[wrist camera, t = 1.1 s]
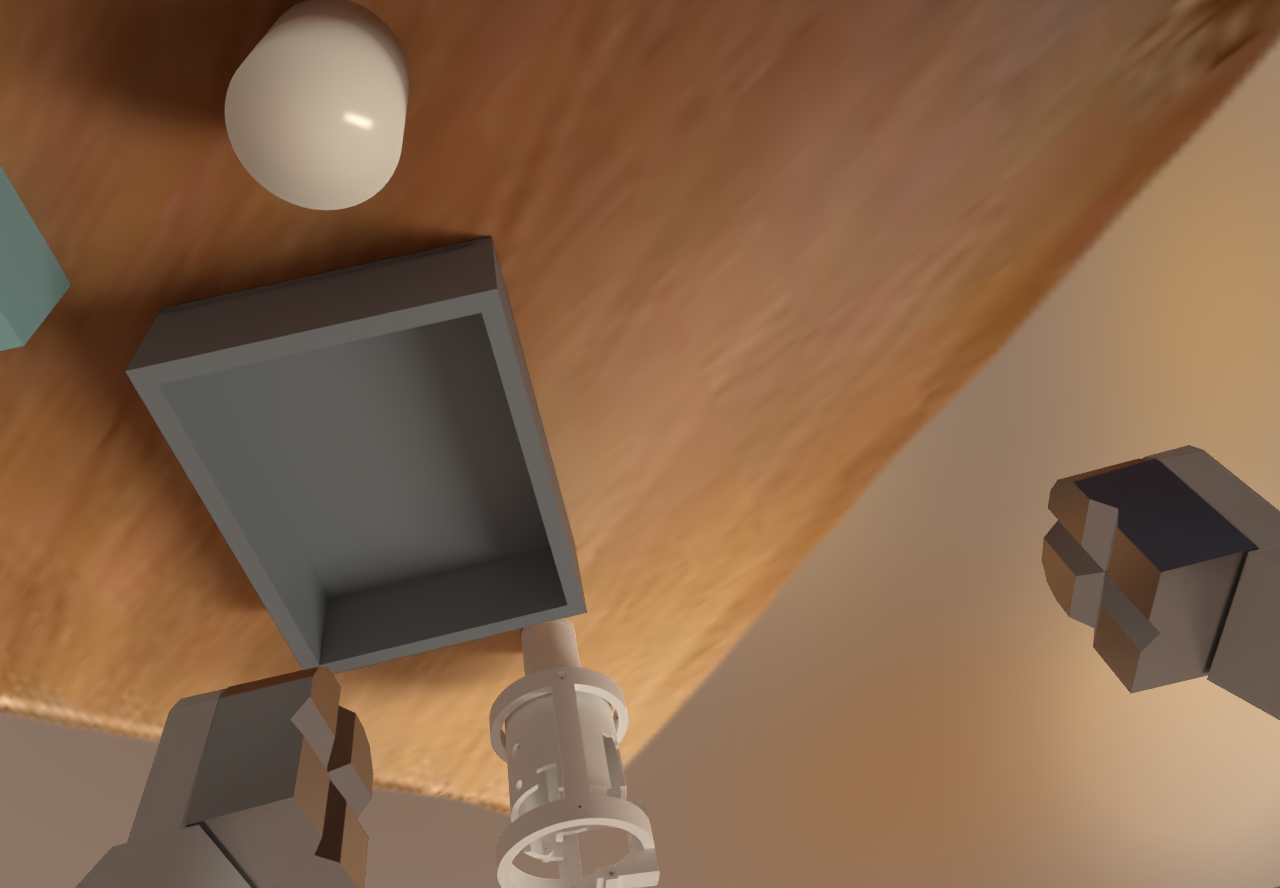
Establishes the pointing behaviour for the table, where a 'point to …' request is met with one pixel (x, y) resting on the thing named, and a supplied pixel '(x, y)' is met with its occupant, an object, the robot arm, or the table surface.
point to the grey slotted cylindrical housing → (566, 767)
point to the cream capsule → (321, 105)
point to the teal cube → (24, 272)
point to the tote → (370, 453)
